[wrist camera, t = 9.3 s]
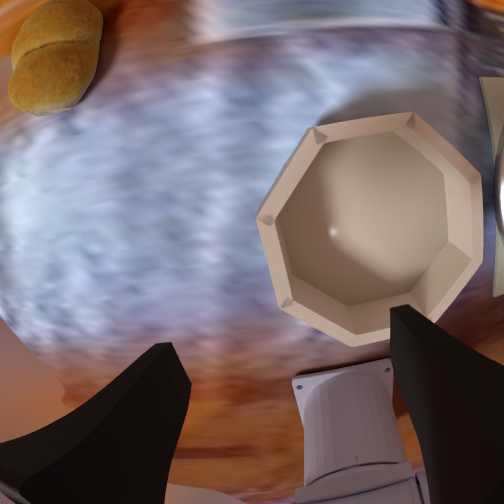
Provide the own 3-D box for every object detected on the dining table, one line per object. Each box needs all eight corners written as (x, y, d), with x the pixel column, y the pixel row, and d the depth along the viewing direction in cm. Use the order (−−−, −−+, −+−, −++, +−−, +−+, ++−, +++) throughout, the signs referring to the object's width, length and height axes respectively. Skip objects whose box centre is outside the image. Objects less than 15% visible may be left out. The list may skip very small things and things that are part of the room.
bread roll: (114, -9, 14) (84, -28, 10) (102, 106, 17) (66, 105, 14) (31, 20, 15) (-1, 12, 11) (21, 121, 18) (-14, 125, 14)
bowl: (452, 284, 19) (478, 313, 15) (291, 320, 21) (291, 358, 18) (438, 109, 15) (471, 106, 12) (246, 142, 17) (235, 144, 14)
